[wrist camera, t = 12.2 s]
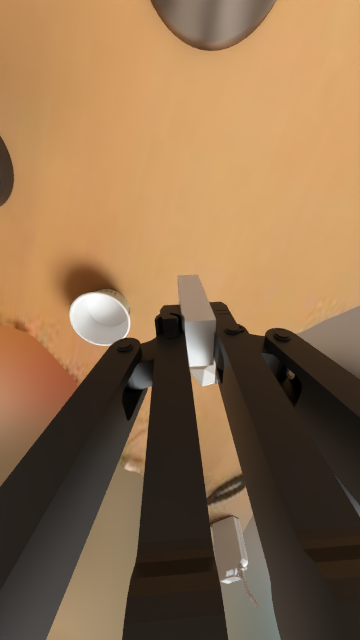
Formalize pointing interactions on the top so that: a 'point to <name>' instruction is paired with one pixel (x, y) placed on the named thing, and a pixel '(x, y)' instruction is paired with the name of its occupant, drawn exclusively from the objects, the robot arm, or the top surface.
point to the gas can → (230, 552)
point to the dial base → (212, 20)
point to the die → (204, 374)
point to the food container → (100, 316)
